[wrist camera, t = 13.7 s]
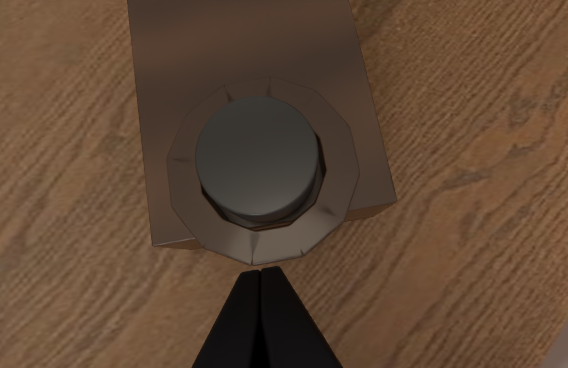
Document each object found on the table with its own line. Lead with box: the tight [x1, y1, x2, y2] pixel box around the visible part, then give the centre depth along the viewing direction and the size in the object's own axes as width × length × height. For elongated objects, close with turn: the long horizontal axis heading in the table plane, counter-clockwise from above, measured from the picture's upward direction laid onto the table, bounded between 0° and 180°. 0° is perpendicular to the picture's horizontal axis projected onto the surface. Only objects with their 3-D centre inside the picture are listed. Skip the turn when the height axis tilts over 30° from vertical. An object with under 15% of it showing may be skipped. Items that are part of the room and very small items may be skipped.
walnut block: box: [127, 0, 397, 266], centre depth 18 cm, size 14×10×7 cm
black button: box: [195, 96, 319, 222], centre depth 13 cm, size 4×4×2 cm
